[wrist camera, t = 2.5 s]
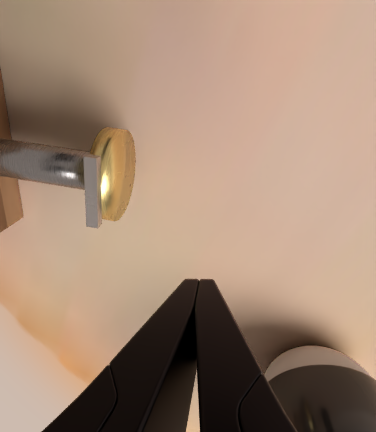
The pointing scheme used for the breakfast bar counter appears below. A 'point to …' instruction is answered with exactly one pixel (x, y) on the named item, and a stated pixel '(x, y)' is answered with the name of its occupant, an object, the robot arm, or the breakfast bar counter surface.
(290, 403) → the black egg-shaped device
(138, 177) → the breakfast bar counter surface
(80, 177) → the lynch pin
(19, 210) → the block
